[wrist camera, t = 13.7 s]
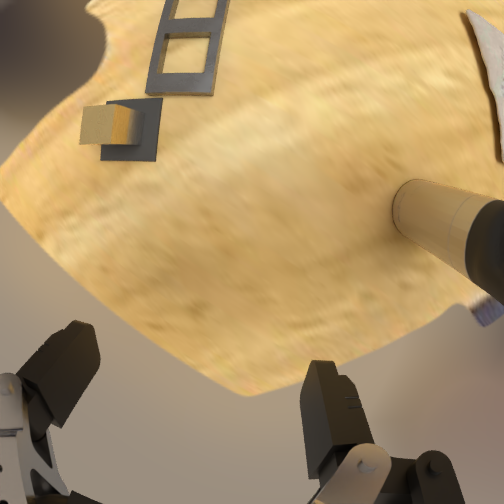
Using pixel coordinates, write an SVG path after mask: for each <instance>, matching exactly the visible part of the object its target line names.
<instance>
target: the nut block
mask: <svg viewBox="0 0 504 504" xmlns="http://www.w3.org/2000/svg"><path fill="white" fill-rule="evenodd" d="M145 115H146V114H145V113H142V112H139V111H136V110H133V109H130V108H127V107H124V106H121V105H117V104H108V105H97V106H88V107H84V109H83V116H82V124H81V133H80V143H79V145H81V144H94V145H142V140H143V131H144V123H145Z"/></svg>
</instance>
